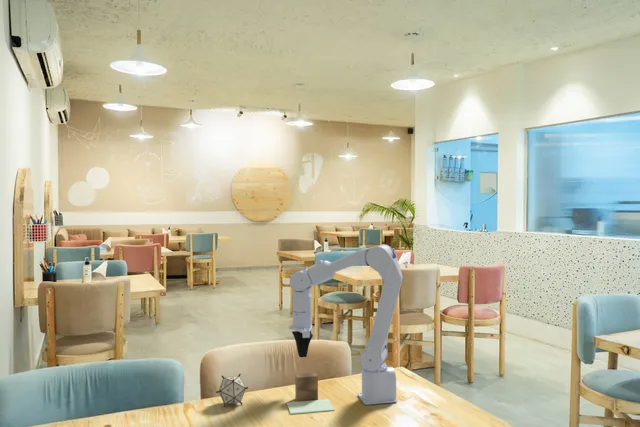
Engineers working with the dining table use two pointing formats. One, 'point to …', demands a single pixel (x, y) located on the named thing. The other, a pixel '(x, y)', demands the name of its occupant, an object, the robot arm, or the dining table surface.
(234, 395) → the game die
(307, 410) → the sage mat
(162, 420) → the dining table surface
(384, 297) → the robot arm
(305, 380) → the walnut frame
